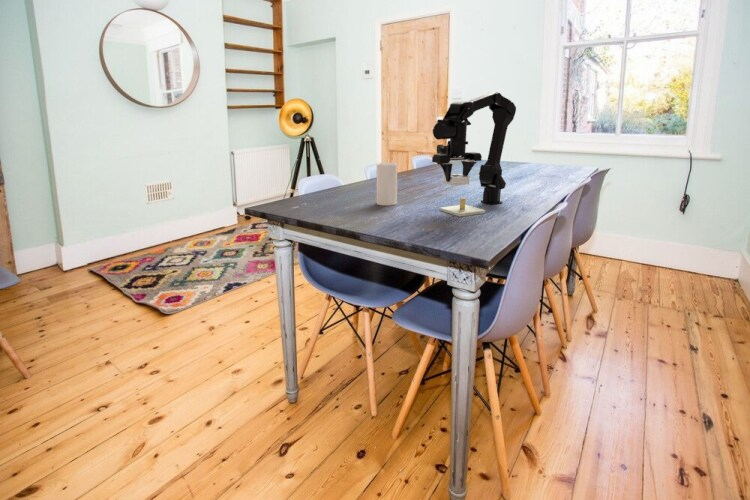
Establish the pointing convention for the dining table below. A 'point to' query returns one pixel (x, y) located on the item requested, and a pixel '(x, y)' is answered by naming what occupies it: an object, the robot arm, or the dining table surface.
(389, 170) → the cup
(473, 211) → the keeper
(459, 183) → the link
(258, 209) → the dining table surface
